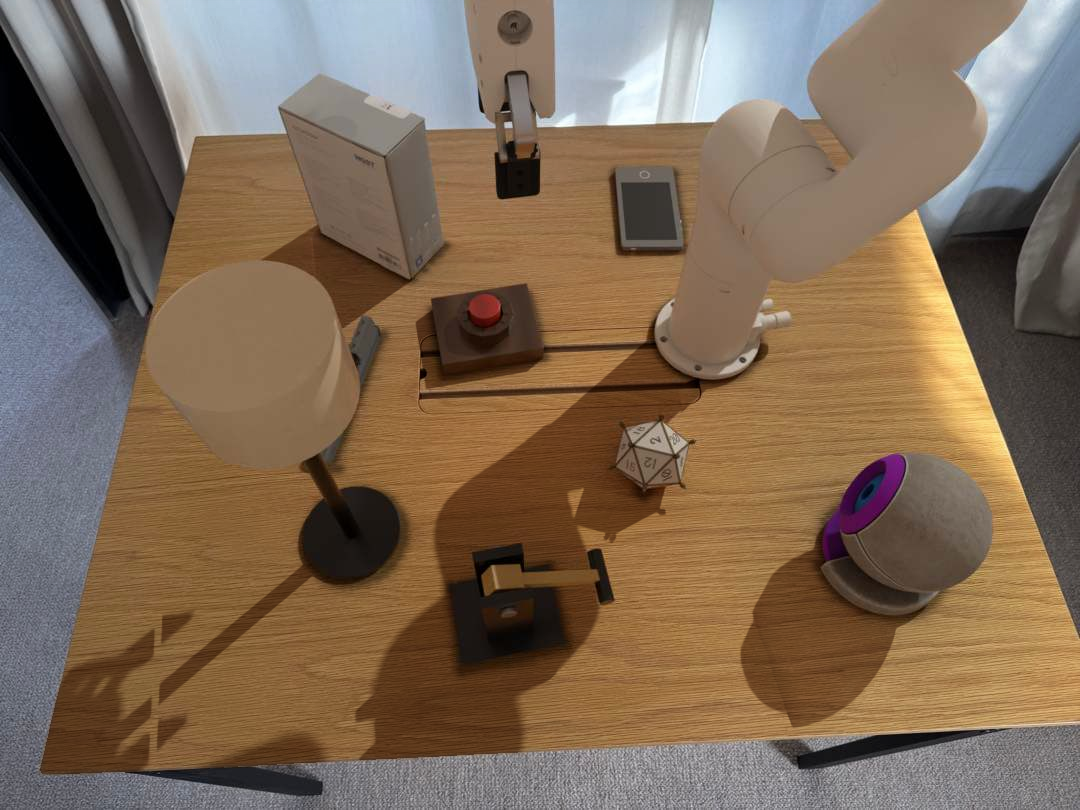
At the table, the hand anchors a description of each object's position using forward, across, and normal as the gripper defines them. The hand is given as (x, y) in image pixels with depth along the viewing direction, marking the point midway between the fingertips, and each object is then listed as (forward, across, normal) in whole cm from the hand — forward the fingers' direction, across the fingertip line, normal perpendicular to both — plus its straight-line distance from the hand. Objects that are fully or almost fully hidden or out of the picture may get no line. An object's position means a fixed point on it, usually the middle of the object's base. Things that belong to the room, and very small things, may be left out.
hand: (508, 150), depth 60 cm
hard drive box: (+35, +26, +14) cm, 46 cm away
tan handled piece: (+27, -26, +1) cm, 37 cm away
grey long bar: (+35, +2, +19) cm, 40 cm away
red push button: (+31, +9, +2) cm, 33 cm away
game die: (+35, -13, -13) cm, 39 cm away
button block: (+35, +9, +2) cm, 36 cm away
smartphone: (+35, +25, -22) cm, 49 cm away
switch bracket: (+35, -26, +5) cm, 44 cm away
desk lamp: (+35, -15, +19) cm, 43 cm away
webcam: (+35, -26, -34) cm, 55 cm away
